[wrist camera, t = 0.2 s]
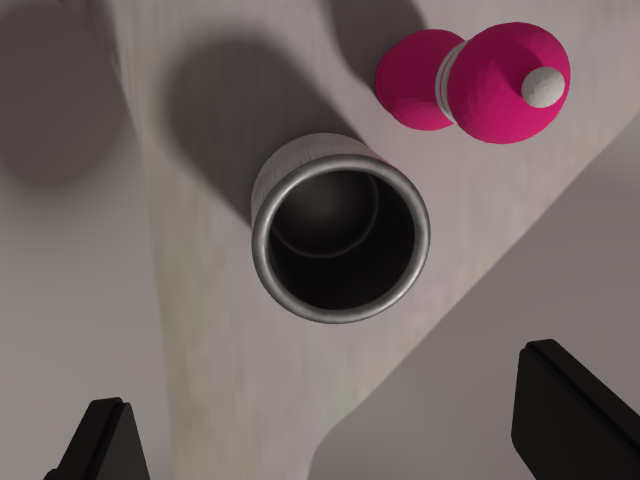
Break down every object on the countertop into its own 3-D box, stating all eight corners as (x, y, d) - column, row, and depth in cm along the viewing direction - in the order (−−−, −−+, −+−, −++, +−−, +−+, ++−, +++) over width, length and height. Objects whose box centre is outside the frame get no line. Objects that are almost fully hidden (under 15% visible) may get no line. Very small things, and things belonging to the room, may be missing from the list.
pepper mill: (385, 21, 37) (518, -32, 18) (464, 49, 38) (661, 28, 20) (357, 110, 39) (450, 146, 20) (433, 134, 40) (584, 187, 22)
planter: (407, 232, 43) (455, 282, 33) (287, 286, 44) (297, 353, 33) (359, 106, 39) (397, 118, 28) (225, 168, 39) (215, 202, 29)
